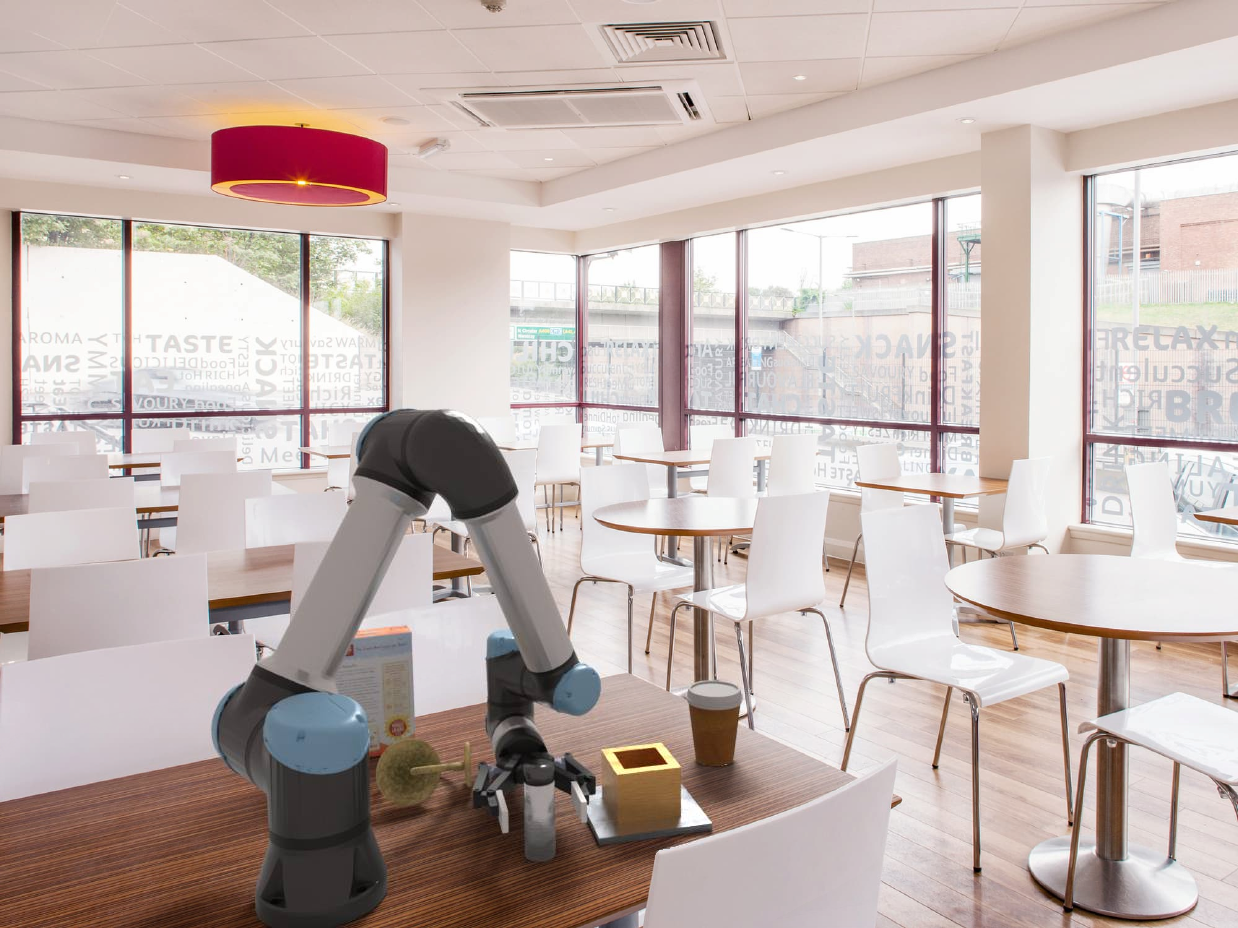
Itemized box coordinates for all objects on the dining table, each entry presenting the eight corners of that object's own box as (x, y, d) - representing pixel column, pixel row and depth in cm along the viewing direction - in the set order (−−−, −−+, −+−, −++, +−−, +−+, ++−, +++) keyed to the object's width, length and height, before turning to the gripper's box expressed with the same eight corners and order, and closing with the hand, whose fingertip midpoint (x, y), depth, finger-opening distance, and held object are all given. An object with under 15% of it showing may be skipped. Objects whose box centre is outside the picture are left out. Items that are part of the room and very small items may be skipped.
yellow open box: (599, 845, 119) (598, 787, 119) (575, 794, 135) (574, 743, 134) (712, 829, 123) (711, 773, 123) (676, 782, 139) (675, 732, 138)
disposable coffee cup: (681, 768, 144) (680, 695, 144) (690, 745, 154) (690, 677, 153) (740, 773, 142) (740, 699, 141) (746, 750, 151) (746, 681, 150)
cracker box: (411, 739, 158) (408, 623, 156) (416, 751, 152) (413, 631, 151) (328, 751, 153) (324, 631, 151) (330, 764, 147) (326, 640, 146)
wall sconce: (467, 734, 146) (471, 727, 123) (471, 795, 143) (475, 800, 120) (380, 743, 143) (367, 738, 120) (381, 806, 140) (368, 813, 117)
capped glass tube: (527, 863, 115) (525, 772, 114) (522, 848, 119) (521, 760, 118) (558, 859, 116) (556, 769, 115) (552, 844, 120) (551, 757, 119)
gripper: (591, 766, 137) (629, 834, 116) (445, 783, 132) (457, 857, 110) (591, 718, 137) (629, 778, 115) (444, 733, 131) (455, 798, 110)
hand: (545, 817), depth 113 cm, fingers open, 9 cm apart
